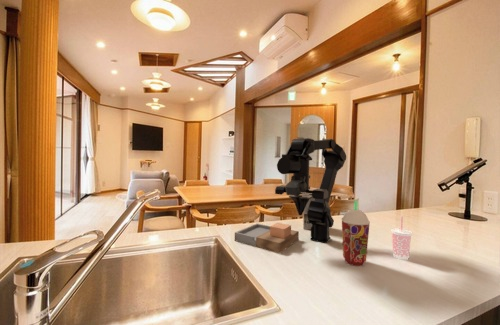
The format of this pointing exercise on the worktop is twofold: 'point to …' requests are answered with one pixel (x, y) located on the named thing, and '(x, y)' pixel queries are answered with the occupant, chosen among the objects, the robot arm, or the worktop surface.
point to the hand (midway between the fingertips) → (300, 215)
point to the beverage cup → (401, 242)
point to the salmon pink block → (280, 230)
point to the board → (276, 241)
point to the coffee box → (305, 218)
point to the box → (251, 233)
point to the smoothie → (355, 236)
